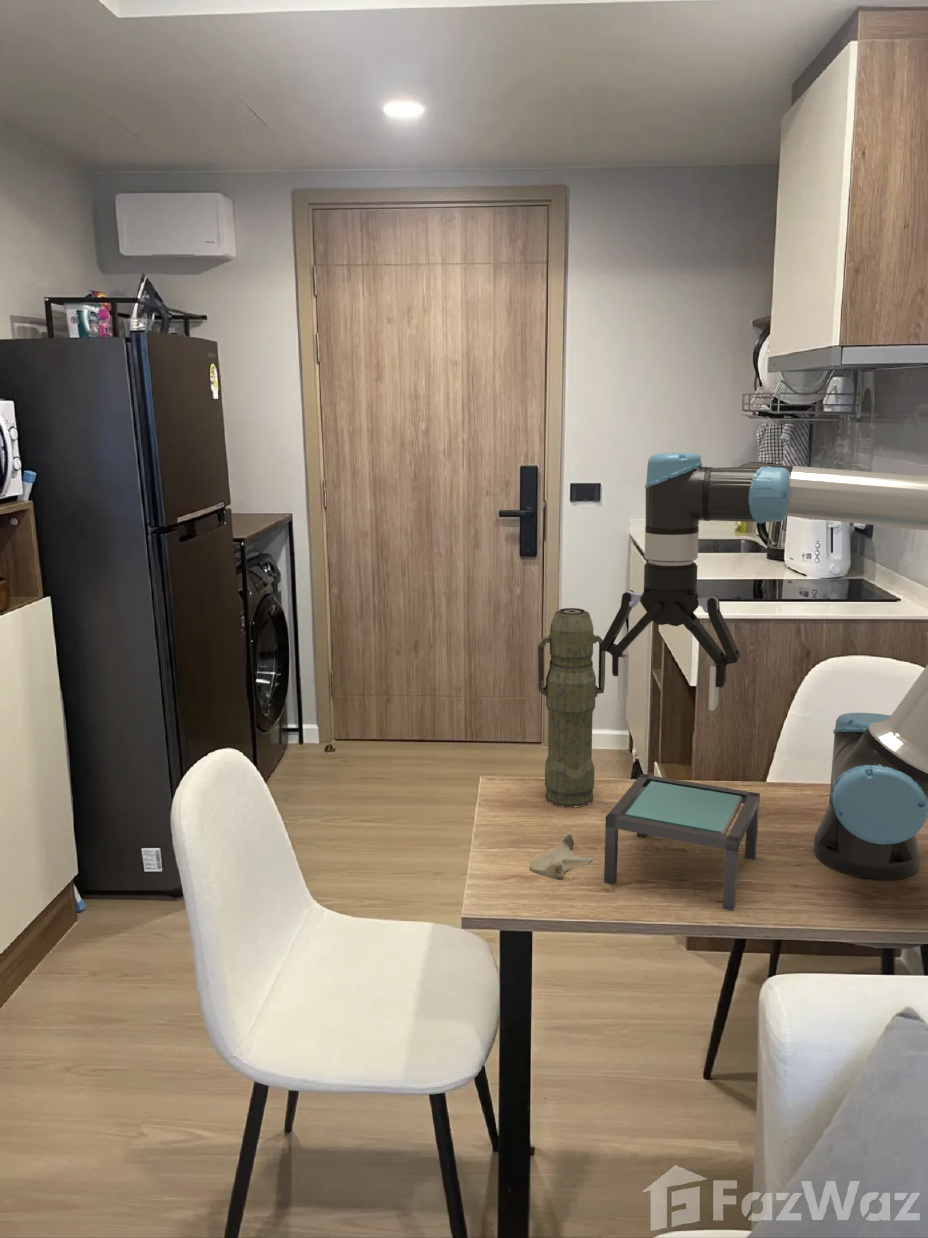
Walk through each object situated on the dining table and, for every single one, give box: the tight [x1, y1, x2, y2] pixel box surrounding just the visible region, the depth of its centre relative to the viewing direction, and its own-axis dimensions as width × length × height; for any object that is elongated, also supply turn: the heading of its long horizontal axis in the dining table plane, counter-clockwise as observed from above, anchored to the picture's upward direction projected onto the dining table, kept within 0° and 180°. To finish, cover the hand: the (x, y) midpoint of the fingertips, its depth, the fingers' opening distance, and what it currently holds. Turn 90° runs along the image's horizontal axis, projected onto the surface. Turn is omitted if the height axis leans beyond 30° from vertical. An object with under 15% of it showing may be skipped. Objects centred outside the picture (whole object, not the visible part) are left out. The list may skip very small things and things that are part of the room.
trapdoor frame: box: [603, 773, 761, 912], centre depth 140 cm, size 19×19×10 cm
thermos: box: [537, 607, 607, 808], centre depth 164 cm, size 9×12×35 cm
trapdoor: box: [625, 781, 743, 835], centre depth 139 cm, size 14×14×1 cm
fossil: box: [529, 832, 594, 879], centre depth 144 cm, size 7×11×3 cm, turn 138°
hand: (667, 702), depth 137 cm, fingers open, 13 cm apart
